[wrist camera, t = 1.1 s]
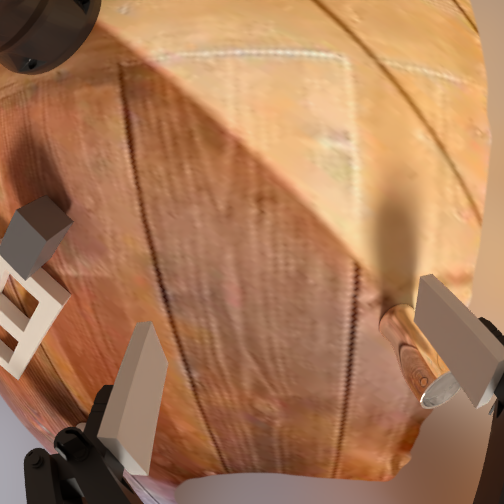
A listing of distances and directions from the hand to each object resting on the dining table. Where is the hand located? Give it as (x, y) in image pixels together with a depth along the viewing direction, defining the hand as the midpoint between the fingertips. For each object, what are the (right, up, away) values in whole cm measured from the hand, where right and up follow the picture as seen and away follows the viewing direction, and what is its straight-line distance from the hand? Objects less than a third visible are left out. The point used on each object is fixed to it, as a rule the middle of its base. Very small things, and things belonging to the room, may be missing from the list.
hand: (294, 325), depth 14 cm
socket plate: (-40, -6, +25) cm, 47 cm away
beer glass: (+19, -7, +28) cm, 35 cm away
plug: (-27, +7, +20) cm, 34 cm away
